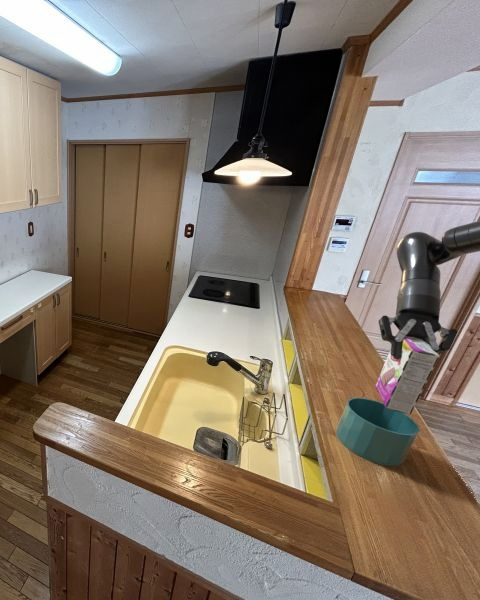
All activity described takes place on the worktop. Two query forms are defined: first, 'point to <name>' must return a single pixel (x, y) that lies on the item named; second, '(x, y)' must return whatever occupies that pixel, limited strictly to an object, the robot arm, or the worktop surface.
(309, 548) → the worktop surface
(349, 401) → the bucket
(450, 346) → the robot arm
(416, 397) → the candy bar box
